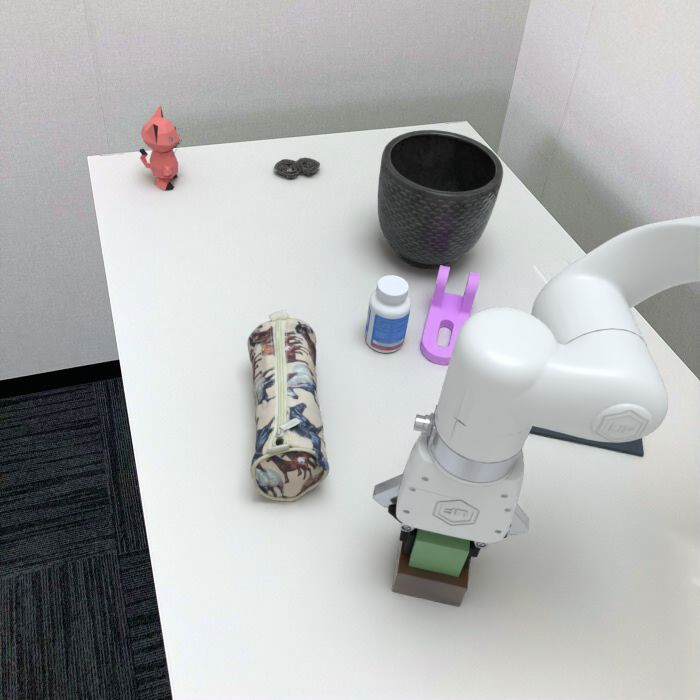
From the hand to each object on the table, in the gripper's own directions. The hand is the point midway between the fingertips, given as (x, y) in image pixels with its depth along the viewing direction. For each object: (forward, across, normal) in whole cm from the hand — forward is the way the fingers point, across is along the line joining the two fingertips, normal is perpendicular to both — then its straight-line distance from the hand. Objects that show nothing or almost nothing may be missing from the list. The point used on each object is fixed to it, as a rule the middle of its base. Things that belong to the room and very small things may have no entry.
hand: (436, 547), depth 74 cm
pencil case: (+5, -19, +14) cm, 24 cm away
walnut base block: (+4, 0, 0) cm, 4 cm away
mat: (+4, +15, +30) cm, 34 cm away
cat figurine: (+5, -51, +58) cm, 77 cm away
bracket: (+5, -2, +36) cm, 36 cm away
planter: (+5, -7, +53) cm, 54 cm away
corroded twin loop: (+5, -31, +68) cm, 75 cm away
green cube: (0, 0, 0) cm, 0 cm away
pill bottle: (+5, -10, +32) cm, 34 cm away
